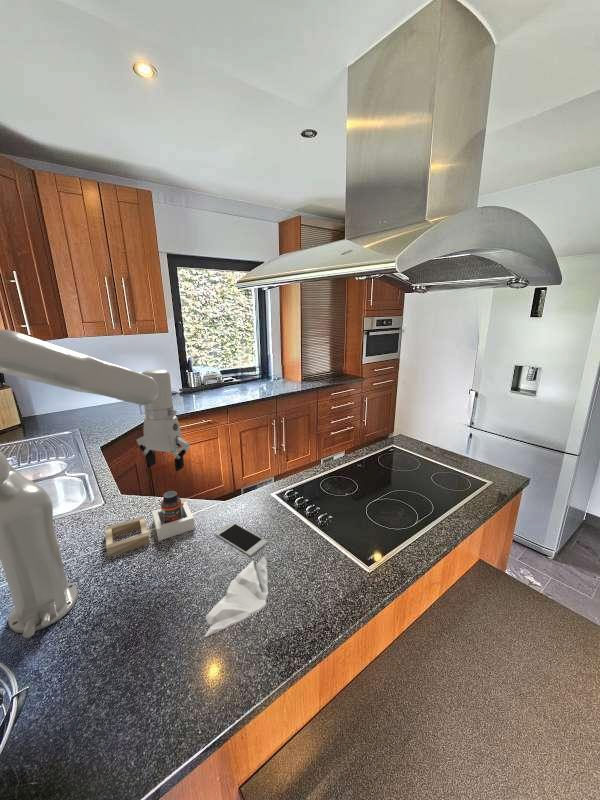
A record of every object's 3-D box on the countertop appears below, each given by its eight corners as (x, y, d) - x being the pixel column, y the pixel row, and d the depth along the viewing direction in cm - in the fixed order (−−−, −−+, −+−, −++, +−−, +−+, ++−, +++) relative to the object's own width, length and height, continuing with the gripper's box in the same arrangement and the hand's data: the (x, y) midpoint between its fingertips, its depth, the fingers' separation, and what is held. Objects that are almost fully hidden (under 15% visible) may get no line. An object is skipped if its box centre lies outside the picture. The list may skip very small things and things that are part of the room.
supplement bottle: (165, 534, 99) (161, 501, 96) (162, 524, 104) (157, 492, 101) (185, 527, 102) (182, 495, 99) (181, 517, 107) (177, 487, 104)
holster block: (149, 543, 95) (148, 535, 94) (108, 557, 90) (106, 548, 89) (145, 524, 104) (144, 516, 103) (107, 535, 99) (105, 527, 98)
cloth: (220, 657, 64) (219, 648, 64) (179, 620, 72) (178, 612, 72) (298, 573, 85) (297, 566, 84) (259, 552, 92) (258, 545, 92)
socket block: (194, 528, 101) (193, 516, 100) (158, 541, 96) (156, 527, 95) (187, 511, 110) (185, 499, 109) (153, 521, 105) (151, 509, 104)
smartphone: (250, 558, 90) (250, 555, 90) (214, 535, 99) (214, 533, 99) (268, 543, 95) (267, 541, 95) (232, 524, 104) (232, 521, 104)
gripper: (193, 411, 95) (197, 465, 99) (142, 407, 99) (149, 459, 103) (178, 419, 88) (183, 476, 92) (124, 414, 92) (131, 469, 96)
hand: (165, 467), depth 97 cm, fingers open, 9 cm apart
